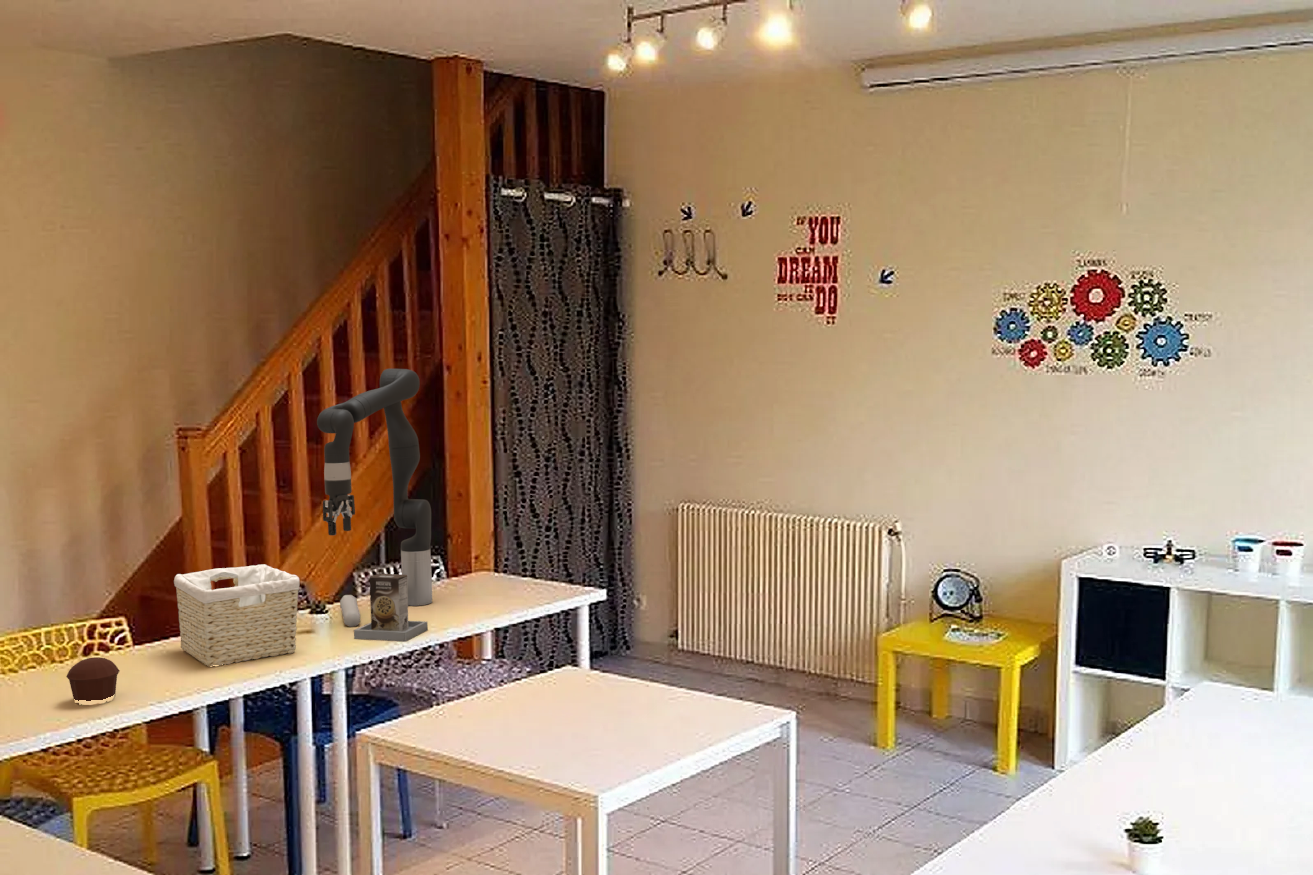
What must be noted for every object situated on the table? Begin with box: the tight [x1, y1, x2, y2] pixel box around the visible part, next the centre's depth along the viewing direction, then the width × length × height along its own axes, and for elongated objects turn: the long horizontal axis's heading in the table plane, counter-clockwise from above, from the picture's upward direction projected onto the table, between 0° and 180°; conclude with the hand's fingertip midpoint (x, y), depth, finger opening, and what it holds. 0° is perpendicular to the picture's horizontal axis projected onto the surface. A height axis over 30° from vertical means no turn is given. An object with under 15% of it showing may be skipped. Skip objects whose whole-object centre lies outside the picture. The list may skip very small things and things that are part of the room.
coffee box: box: [369, 573, 409, 632], centre depth 375 cm, size 9×6×16 cm
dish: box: [353, 620, 429, 642], centre depth 375 cm, size 14×16×2 cm
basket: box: [173, 564, 300, 667], centre depth 357 cm, size 27×27×22 cm
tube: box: [339, 594, 361, 628], centre depth 397 cm, size 5×5×25 cm
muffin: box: [65, 656, 121, 701], centre depth 313 cm, size 12×11×10 cm
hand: (340, 533), depth 383 cm, fingers open, 8 cm apart
